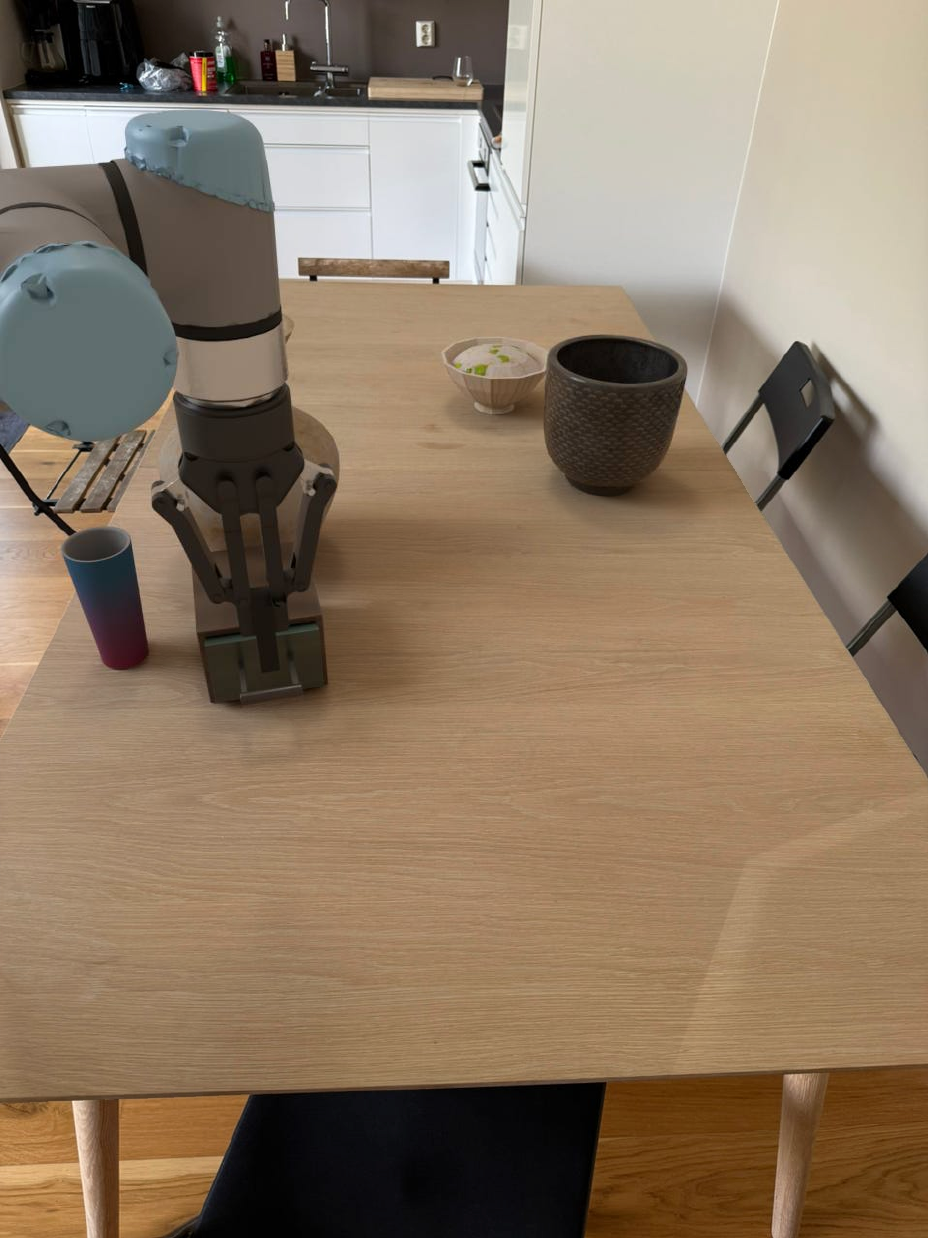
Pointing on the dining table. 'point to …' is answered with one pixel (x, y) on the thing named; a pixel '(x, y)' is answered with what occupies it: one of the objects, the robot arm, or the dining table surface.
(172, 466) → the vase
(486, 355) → the bowl
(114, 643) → the cup
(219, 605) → the cabinet
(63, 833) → the dining table surface
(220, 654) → the drawer
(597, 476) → the planter
